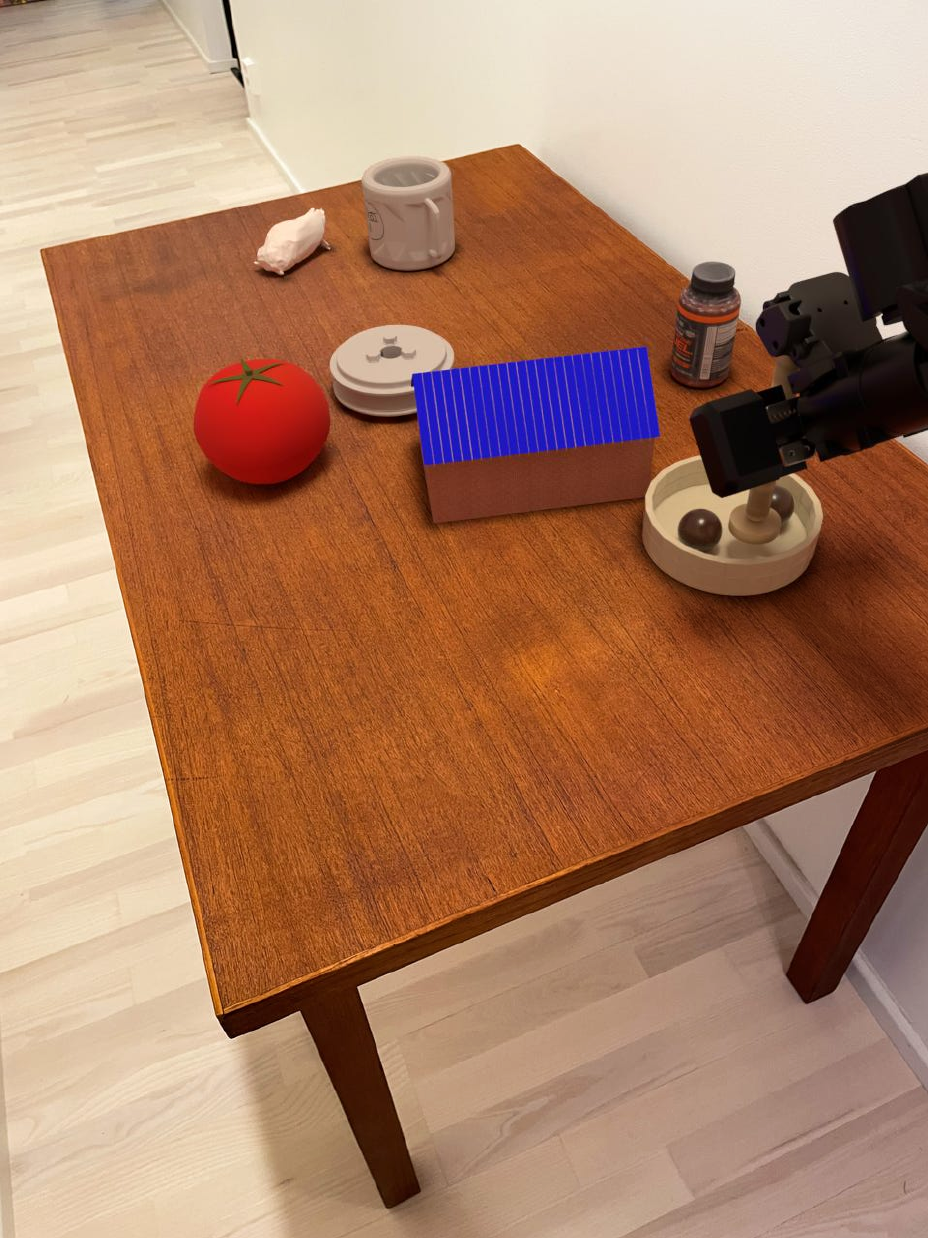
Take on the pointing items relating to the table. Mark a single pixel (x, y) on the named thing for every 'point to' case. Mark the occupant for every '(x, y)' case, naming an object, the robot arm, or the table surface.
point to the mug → (409, 212)
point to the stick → (756, 516)
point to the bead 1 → (700, 529)
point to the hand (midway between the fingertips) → (759, 441)
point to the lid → (386, 368)
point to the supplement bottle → (706, 326)
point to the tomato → (261, 420)
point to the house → (536, 433)
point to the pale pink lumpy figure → (292, 241)
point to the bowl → (726, 534)
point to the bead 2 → (782, 503)
